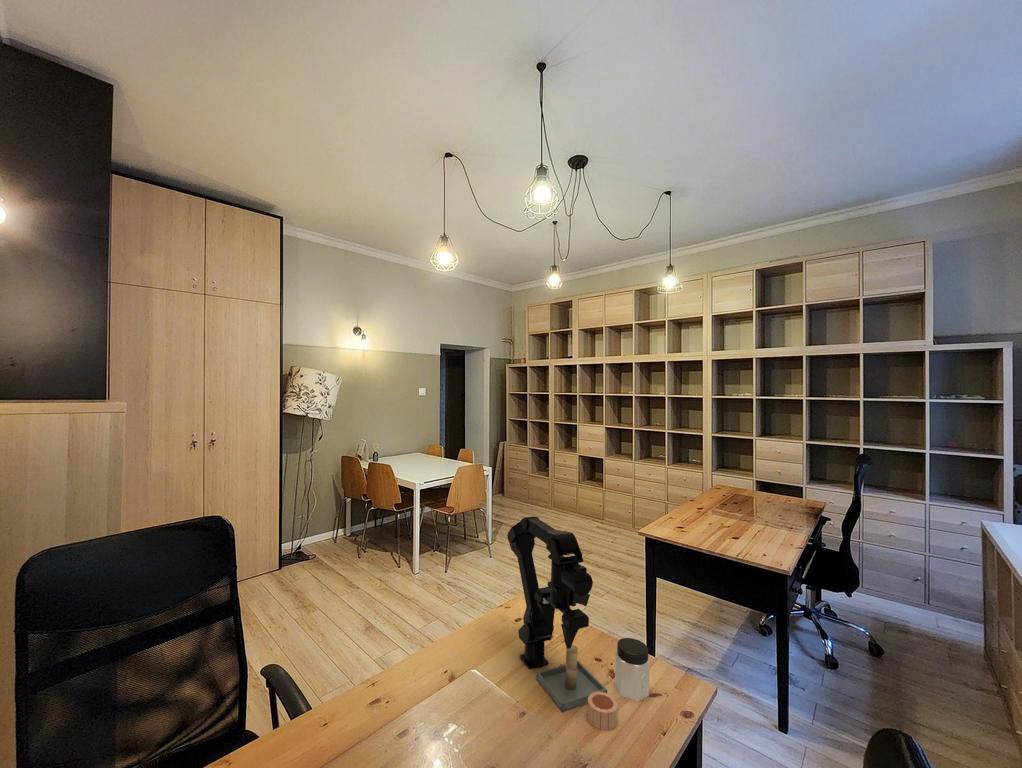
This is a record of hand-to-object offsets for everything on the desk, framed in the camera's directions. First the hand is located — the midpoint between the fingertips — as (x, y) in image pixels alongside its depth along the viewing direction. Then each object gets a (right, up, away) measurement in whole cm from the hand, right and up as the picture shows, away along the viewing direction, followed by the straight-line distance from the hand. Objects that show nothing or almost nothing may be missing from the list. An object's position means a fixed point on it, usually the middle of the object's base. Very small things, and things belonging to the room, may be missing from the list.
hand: (559, 638), depth 111 cm
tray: (+3, -13, -1) cm, 13 cm away
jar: (+19, -14, -1) cm, 24 cm away
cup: (+9, -13, -12) cm, 20 cm away
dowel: (+3, -12, -1) cm, 13 cm away
